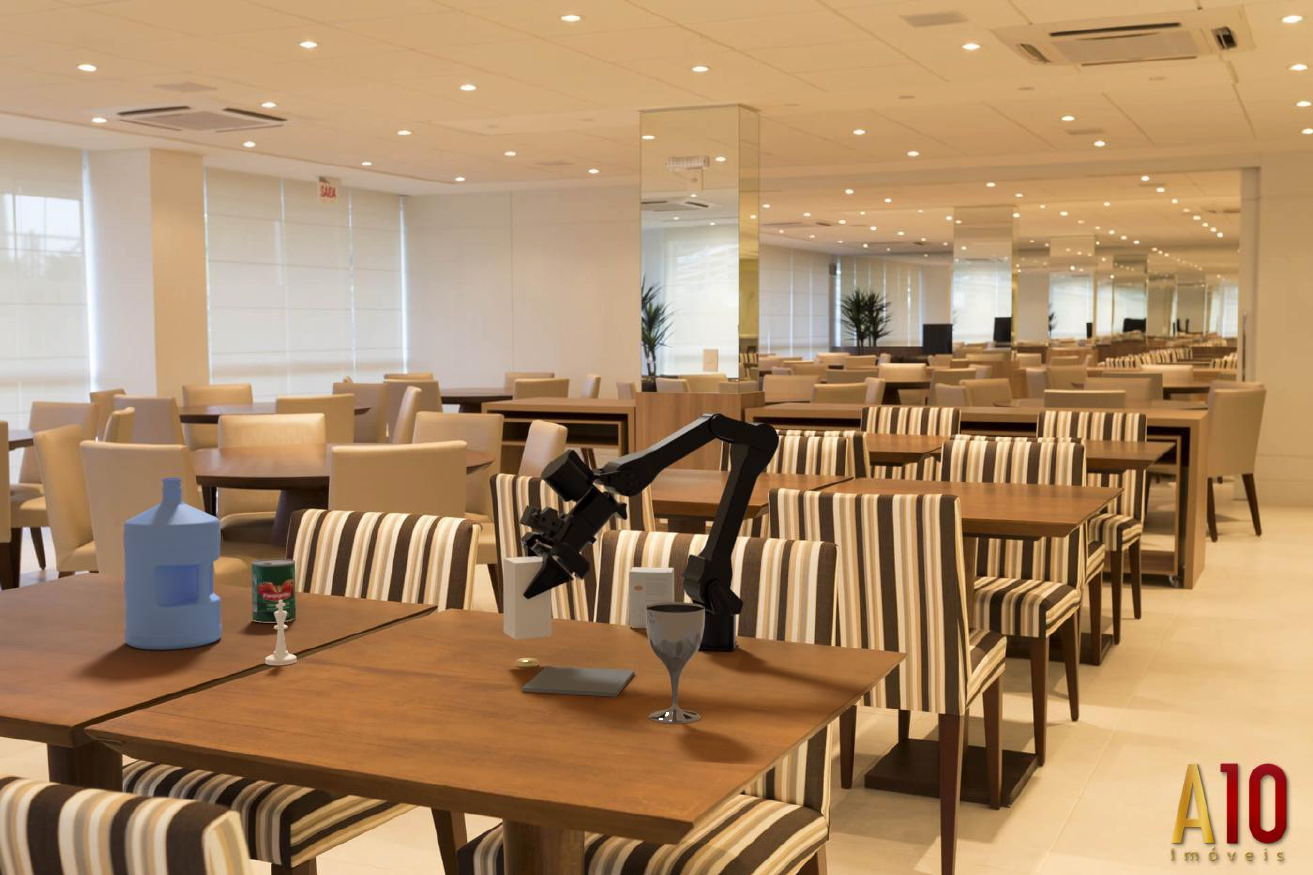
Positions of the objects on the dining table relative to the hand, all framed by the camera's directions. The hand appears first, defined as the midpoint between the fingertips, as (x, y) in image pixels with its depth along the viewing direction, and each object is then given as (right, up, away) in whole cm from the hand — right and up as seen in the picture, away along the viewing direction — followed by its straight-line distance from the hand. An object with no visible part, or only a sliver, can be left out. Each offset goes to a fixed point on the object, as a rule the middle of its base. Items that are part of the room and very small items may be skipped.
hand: (519, 594), depth 206 cm
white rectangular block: (+1, -7, +1) cm, 7 cm away
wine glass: (+24, -13, -29) cm, 40 cm away
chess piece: (-38, -11, +2) cm, 40 cm away
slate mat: (+10, -12, -11) cm, 19 cm away
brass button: (+1, -12, +1) cm, 12 cm away
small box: (+21, -10, +33) cm, 41 cm away
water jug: (-61, -10, +17) cm, 64 cm away
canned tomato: (-50, -9, +36) cm, 62 cm away
